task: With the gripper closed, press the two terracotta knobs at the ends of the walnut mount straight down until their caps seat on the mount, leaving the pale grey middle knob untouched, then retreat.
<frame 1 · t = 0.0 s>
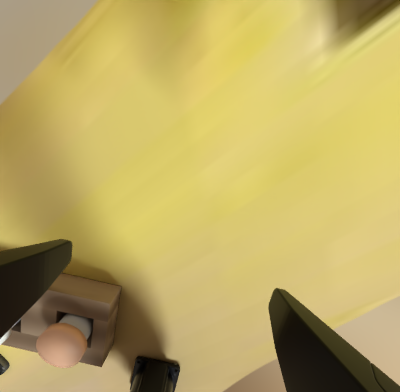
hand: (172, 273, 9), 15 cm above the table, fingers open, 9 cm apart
knob mount: (24, 296, 27), on the table
knob 2: (70, 334, 24), point 4 cm above the table, slide at 0.0 cm
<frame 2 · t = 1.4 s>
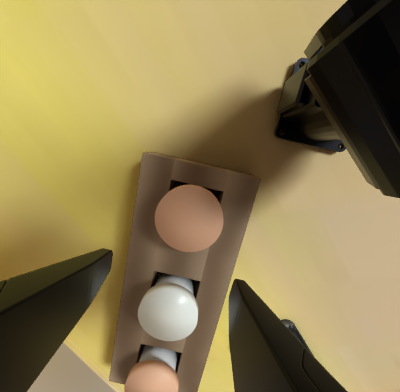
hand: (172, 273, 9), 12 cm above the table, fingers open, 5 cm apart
knob mount: (177, 276, 22), on the table
middle knob: (171, 300, 19), point 4 cm above the table, slide at 0.0 cm
knob 2: (191, 212, 17), point 4 cm above the table, slide at 0.0 cm
knob 1: (156, 370, 21), point 4 cm above the table, slide at 0.0 cm
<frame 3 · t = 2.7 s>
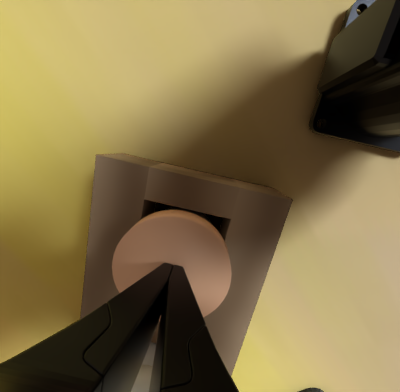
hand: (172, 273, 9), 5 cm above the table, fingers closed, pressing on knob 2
knob mount: (162, 330, 16), on the table
middle knob: (149, 381, 12), point 4 cm above the table, slide at 0.0 cm
knob 2: (177, 251, 10), point 3 cm above the table, slide at 0.3 cm, touching gripper
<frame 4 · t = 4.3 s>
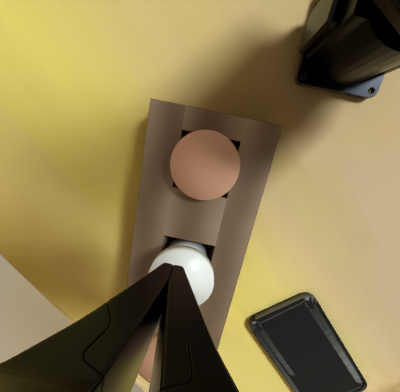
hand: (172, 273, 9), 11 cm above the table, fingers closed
knob mount: (188, 246, 21), on the table
middle knob: (184, 267, 17), point 4 cm above the table, slide at 0.0 cm
knob 2: (205, 164, 17), point 2 cm above the table, slide at 1.5 cm, touching knob mount
knob 1: (167, 345, 20), point 4 cm above the table, slide at 0.0 cm
phone: (304, 346, 24), on the table
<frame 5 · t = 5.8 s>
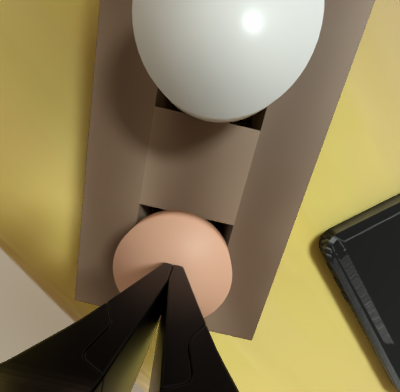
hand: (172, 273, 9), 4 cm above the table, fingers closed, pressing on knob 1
knob mount: (218, 82, 11), on the table
middle knob: (221, 50, 7), point 4 cm above the table, slide at 0.0 cm
knob 1: (178, 252, 10), point 3 cm above the table, slide at 1.1 cm, touching gripper
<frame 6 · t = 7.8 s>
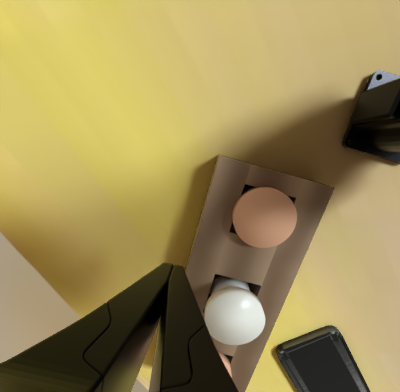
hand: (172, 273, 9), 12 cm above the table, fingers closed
knob mount: (228, 279, 22), on the table
middle knob: (232, 304, 19), point 4 cm above the table, slide at 0.0 cm
knob 2: (259, 212, 18), point 2 cm above the table, slide at 1.5 cm, touching knob mount
knob 1: (206, 358, 22), point 2 cm above the table, slide at 1.5 cm, touching knob mount
phone: (323, 373, 26), on the table
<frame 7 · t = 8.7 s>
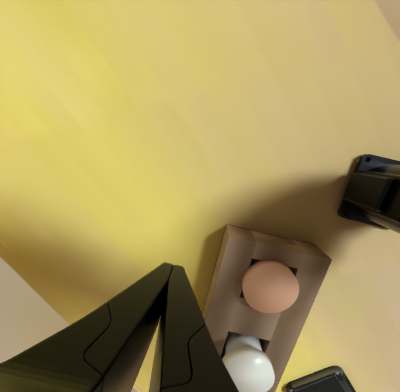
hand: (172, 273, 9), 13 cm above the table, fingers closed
knob mount: (239, 328, 25), on the table
middle knob: (244, 357, 21), point 4 cm above the table, slide at 0.0 cm
knob 2: (265, 277, 21), point 2 cm above the table, slide at 1.5 cm, touching knob mount
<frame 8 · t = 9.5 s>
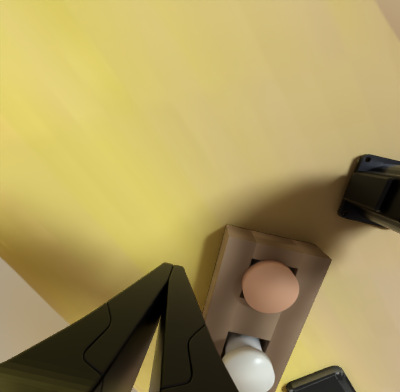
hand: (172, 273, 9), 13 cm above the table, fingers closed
knob mount: (239, 328, 25), on the table
middle knob: (244, 357, 21), point 4 cm above the table, slide at 0.0 cm
knob 2: (265, 277, 21), point 2 cm above the table, slide at 1.5 cm, touching knob mount
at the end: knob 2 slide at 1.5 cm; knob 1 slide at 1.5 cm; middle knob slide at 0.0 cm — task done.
